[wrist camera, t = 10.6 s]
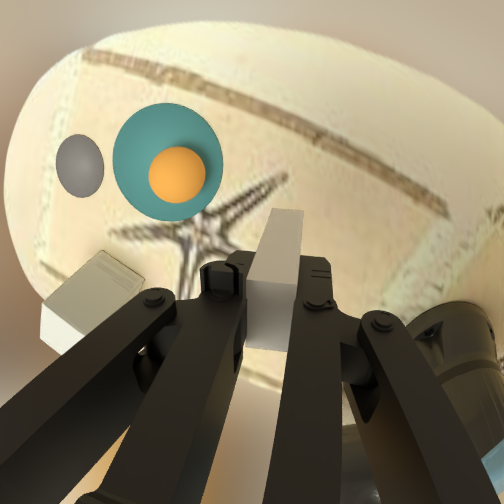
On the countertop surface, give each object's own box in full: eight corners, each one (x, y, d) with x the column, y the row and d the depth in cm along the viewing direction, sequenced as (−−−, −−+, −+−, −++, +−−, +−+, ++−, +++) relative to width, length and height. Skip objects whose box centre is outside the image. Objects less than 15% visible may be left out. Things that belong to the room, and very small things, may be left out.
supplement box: (101, 247, 38) (40, 300, 27) (146, 279, 39) (95, 342, 28) (89, 285, 42) (37, 338, 31) (130, 313, 43) (85, 374, 32)
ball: (160, 148, 31) (208, 139, 30) (170, 197, 34) (217, 191, 32) (132, 157, 27) (186, 145, 25) (145, 213, 29) (197, 207, 27)
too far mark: (100, 131, 31) (100, 131, 31) (107, 197, 35) (106, 198, 35) (54, 138, 33) (53, 138, 32) (61, 197, 36) (60, 197, 36)
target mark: (222, 100, 28) (222, 100, 28) (223, 224, 34) (223, 225, 34) (110, 109, 30) (109, 109, 30) (119, 217, 36) (118, 218, 36)
